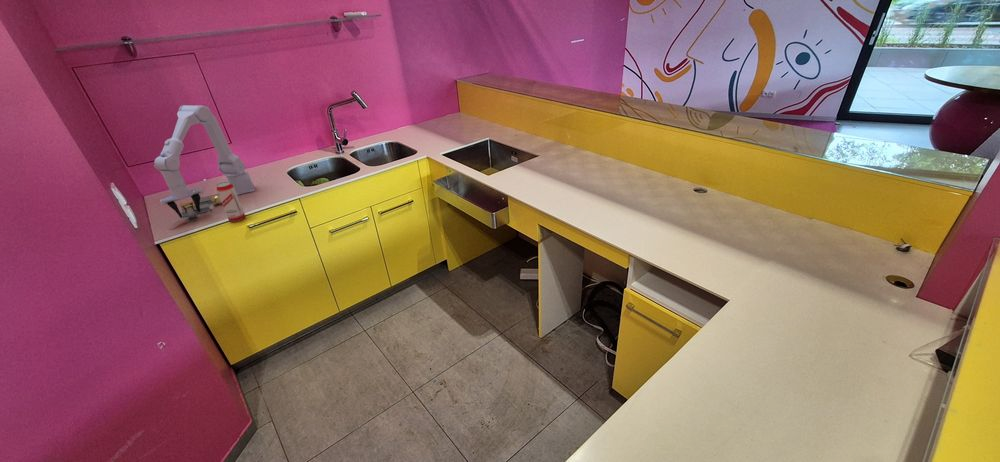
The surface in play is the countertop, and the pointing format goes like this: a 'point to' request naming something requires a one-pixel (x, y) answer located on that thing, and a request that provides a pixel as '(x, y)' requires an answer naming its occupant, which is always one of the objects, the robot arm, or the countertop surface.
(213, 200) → the fixed leaf
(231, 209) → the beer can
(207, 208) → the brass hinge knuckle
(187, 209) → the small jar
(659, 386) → the countertop surface
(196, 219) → the pad
